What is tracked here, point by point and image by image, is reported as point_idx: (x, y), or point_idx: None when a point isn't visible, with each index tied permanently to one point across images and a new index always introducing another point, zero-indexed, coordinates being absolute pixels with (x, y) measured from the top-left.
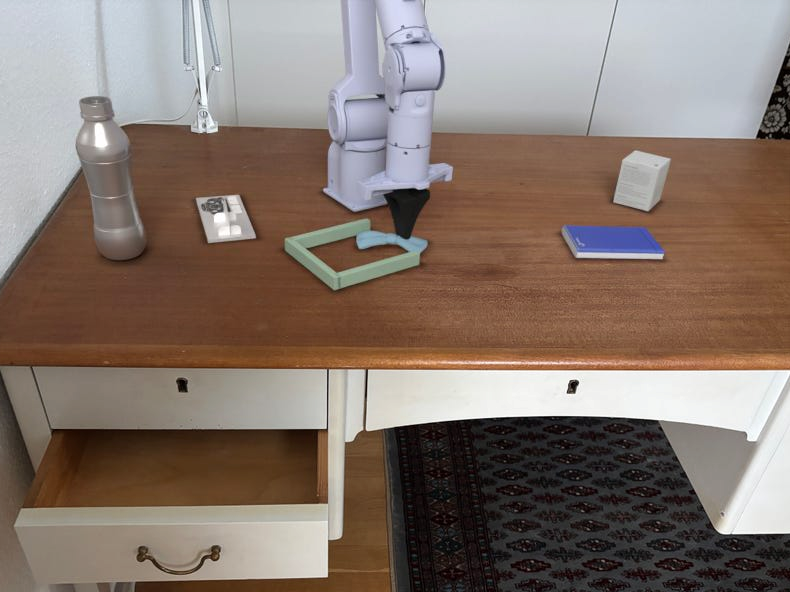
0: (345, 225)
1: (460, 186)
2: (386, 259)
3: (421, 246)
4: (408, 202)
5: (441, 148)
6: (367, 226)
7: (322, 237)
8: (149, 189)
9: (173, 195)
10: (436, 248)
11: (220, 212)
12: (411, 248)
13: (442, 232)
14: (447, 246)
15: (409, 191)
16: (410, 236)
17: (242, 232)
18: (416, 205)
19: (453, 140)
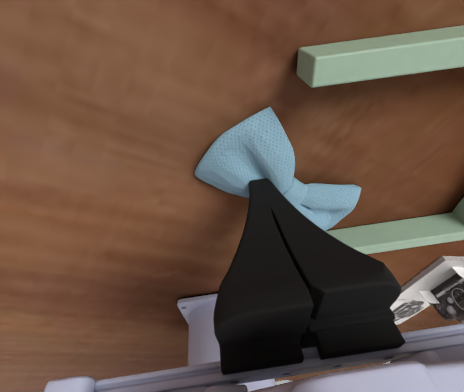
0: None
1: (29, 321)
2: (450, 62)
3: (237, 139)
4: (366, 272)
5: (43, 376)
6: None
7: (402, 231)
8: None
9: (402, 327)
10: (182, 131)
11: (413, 304)
12: (275, 136)
13: (127, 201)
14: (142, 131)
15: (310, 332)
16: (251, 183)
17: (448, 268)
18: (286, 259)
19: (20, 386)
